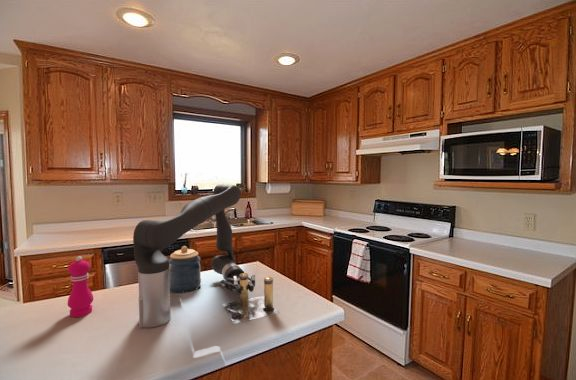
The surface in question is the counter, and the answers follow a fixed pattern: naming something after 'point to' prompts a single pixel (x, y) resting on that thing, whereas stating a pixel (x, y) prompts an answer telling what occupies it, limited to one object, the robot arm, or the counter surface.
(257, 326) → the counter surface
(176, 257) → the canister
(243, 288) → the loose brass leg
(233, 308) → the flange plate
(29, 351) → the counter surface
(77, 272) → the pepper mill
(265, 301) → the fixed brass leg
